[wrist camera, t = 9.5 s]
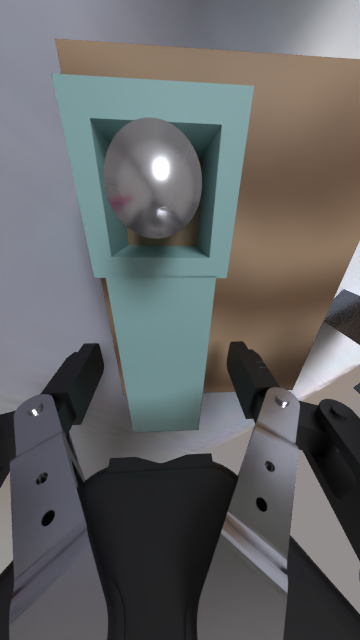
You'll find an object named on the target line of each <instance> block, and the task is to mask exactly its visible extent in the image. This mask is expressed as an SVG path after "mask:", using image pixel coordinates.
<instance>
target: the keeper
mask: <svg viewBox="0 0 360 640" xmlns="http://www.w3.org/2000/svg"><path fill="white" fill-rule="evenodd" d="M324 321H325V322H326V323H328V324H329V325H331V326H332V327H334V328H335V329H337V330H338V331H340V332H341V333H343V334H344V335H346V336H347V337H349V338H350V339H352V340H353V341H355V342H356V343H358V344H359V345H360V296H359V295H356V294H354V293H352V292H349V291H347V290H343V291H342V292H341V293H340V294H339V295H338V296H337V297H336V298H335V299H334V300H333V301H332V303H331V305H330V307H329V309H328V312H327V314H326V316H325V318H324ZM354 389H355V390H356V391H357V392H358V393H359V394H360V383H359V384H358V385H356V386H355V387H354Z"/></svg>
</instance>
